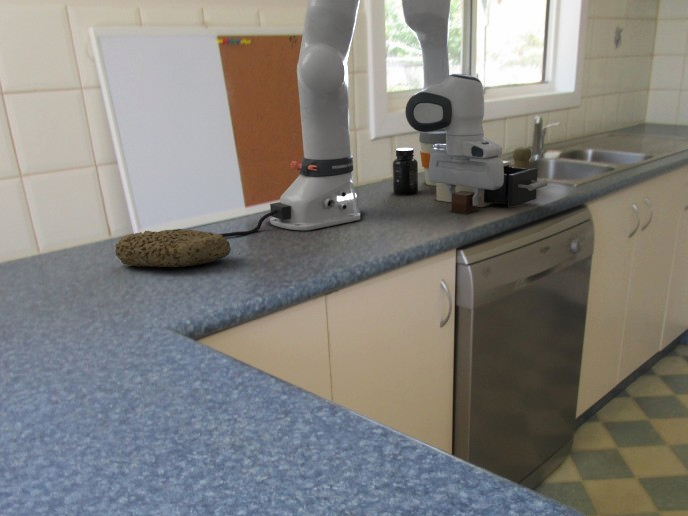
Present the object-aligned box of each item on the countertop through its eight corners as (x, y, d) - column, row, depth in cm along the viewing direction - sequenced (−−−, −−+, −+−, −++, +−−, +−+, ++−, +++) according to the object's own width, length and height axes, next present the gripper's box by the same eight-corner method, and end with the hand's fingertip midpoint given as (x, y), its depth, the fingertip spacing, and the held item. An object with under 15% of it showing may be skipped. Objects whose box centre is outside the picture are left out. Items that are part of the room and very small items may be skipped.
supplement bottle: (388, 193, 185) (387, 149, 180) (407, 189, 188) (406, 146, 184) (403, 196, 179) (402, 151, 175) (423, 193, 183) (422, 149, 179)
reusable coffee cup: (426, 188, 189) (425, 134, 184) (415, 180, 201) (413, 129, 195) (467, 185, 192) (468, 132, 187) (454, 177, 203) (454, 127, 198)
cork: (525, 190, 183) (526, 149, 179) (505, 188, 186) (506, 148, 182) (535, 186, 187) (536, 147, 183) (515, 184, 191) (517, 145, 187)
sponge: (114, 277, 125) (197, 265, 117) (105, 236, 124) (189, 221, 116) (163, 269, 137) (242, 257, 129) (156, 231, 136) (235, 217, 128)
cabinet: (509, 198, 174) (511, 161, 171) (482, 207, 165) (482, 168, 162) (464, 192, 183) (465, 156, 180) (436, 200, 174) (436, 163, 171)
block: (466, 213, 159) (466, 195, 158) (451, 211, 162) (451, 193, 160) (476, 210, 162) (477, 192, 161) (462, 208, 165) (462, 190, 163)
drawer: (551, 201, 165) (552, 169, 163) (527, 209, 158) (528, 177, 155) (491, 193, 177) (492, 163, 174) (466, 200, 169) (466, 170, 166)
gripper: (422, 144, 161) (423, 201, 166) (492, 151, 148) (491, 211, 153) (438, 141, 165) (439, 196, 170) (508, 147, 152) (506, 206, 157)
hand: (464, 203), depth 161 cm, fingers closed on block, 4 cm apart
